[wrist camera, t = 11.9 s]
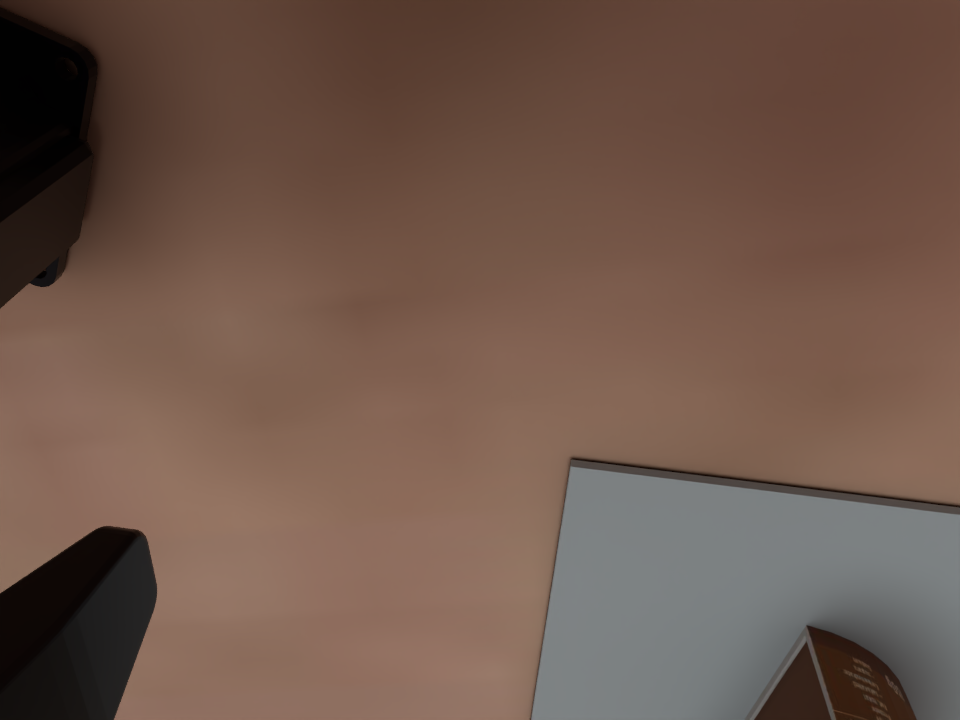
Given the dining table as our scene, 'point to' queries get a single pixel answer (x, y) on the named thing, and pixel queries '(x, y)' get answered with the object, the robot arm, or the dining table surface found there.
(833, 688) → the food container
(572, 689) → the pull board
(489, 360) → the dining table surface
